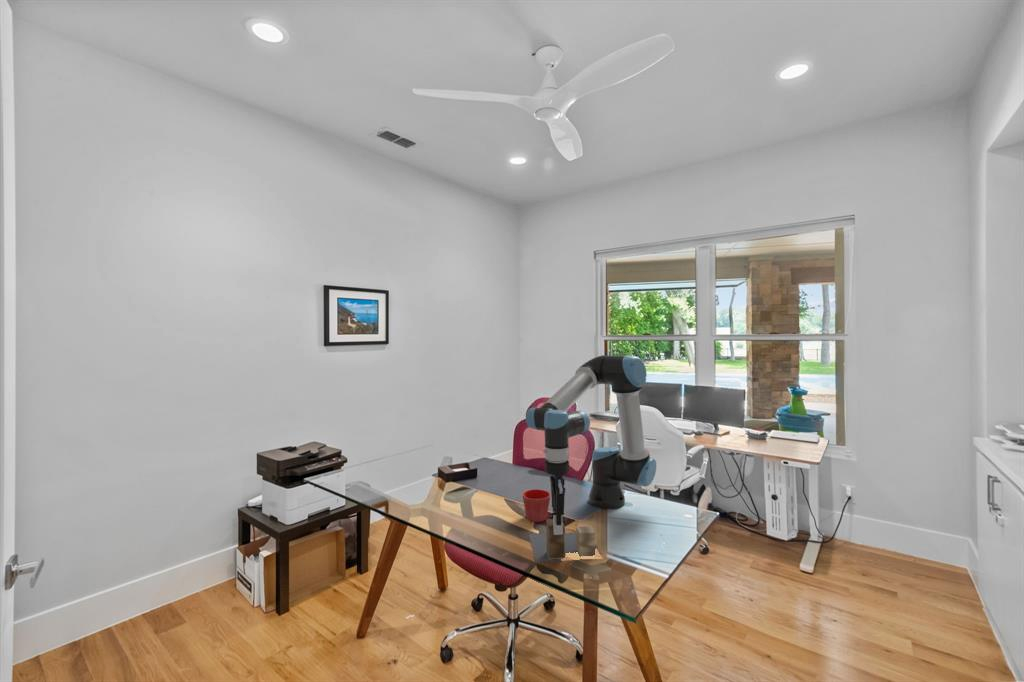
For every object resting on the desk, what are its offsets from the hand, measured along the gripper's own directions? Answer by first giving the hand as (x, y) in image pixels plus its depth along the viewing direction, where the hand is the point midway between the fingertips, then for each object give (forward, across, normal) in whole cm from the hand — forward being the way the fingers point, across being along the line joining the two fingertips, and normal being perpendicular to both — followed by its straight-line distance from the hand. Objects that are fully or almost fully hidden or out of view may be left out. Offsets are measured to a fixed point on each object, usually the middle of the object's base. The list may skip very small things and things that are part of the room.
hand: (558, 533), depth 144 cm
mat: (+10, -11, +4) cm, 15 cm away
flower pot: (+10, -36, -2) cm, 37 cm away
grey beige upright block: (+9, -5, +10) cm, 14 cm away
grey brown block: (+9, -5, 0) cm, 10 cm away
